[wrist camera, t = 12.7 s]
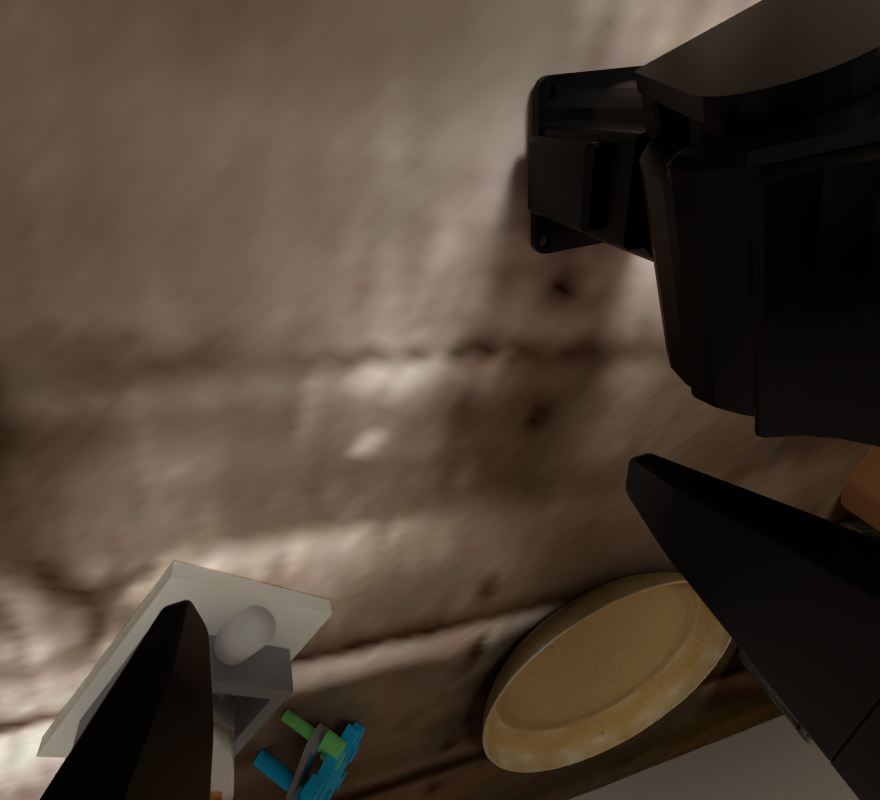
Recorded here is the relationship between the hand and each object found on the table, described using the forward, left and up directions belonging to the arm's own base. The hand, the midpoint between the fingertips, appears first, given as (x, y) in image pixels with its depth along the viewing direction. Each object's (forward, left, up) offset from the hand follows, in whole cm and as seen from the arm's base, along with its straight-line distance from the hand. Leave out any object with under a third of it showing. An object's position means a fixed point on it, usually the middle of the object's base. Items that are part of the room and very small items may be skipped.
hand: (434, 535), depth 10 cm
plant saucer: (-16, +36, -14) cm, 42 cm away
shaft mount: (+12, +19, -13) cm, 26 cm away
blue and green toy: (+8, +31, -13) cm, 35 cm away
